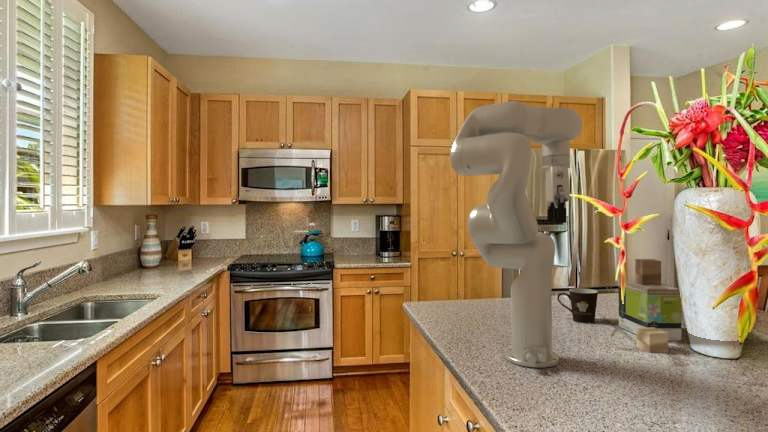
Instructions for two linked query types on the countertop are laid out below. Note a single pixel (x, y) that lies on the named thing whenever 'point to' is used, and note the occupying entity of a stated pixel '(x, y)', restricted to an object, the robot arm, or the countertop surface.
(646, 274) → the walnut block
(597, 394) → the countertop surface
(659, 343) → the beech block
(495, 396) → the countertop surface
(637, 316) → the tea box
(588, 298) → the coffee mug
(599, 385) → the countertop surface
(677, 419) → the countertop surface
